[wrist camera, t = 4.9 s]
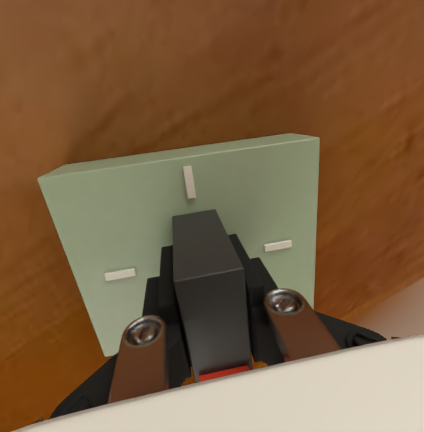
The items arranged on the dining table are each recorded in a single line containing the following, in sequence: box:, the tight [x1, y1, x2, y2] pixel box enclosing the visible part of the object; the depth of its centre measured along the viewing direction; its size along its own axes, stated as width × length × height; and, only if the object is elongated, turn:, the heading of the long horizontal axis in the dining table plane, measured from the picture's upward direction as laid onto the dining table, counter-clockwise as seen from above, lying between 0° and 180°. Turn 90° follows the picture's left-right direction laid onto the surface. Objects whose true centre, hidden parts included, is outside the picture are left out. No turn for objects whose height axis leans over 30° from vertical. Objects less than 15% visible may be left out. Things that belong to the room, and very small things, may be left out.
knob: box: [172, 209, 253, 383], centre depth 10 cm, size 5×2×5 cm, turn 7°
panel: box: [37, 133, 320, 357], centre depth 14 cm, size 12×10×3 cm
